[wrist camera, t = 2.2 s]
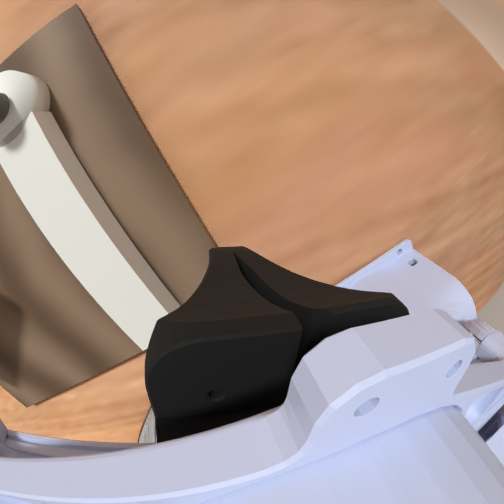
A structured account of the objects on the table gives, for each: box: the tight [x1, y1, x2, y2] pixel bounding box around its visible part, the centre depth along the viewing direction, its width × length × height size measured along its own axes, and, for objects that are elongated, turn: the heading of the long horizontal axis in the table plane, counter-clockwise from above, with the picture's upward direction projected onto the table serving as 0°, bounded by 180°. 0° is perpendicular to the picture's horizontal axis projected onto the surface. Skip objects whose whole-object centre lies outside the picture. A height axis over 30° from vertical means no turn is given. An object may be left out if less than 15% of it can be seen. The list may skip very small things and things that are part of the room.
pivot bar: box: [0, 70, 180, 351], centre depth 13 cm, size 18×4×2 cm, turn 27°
